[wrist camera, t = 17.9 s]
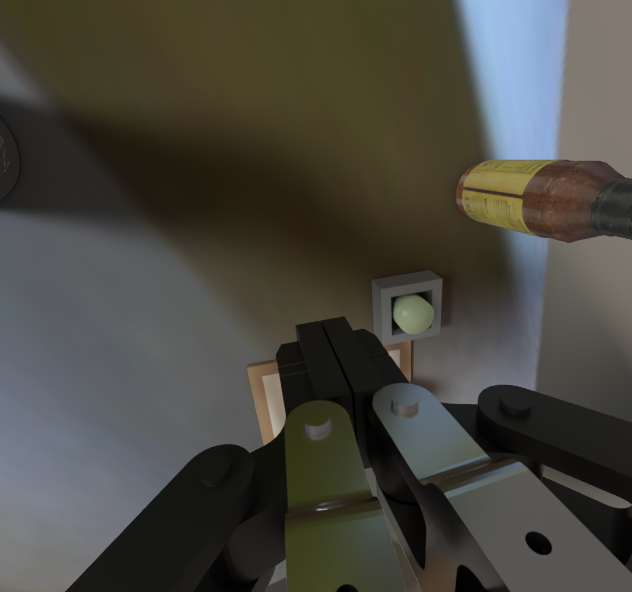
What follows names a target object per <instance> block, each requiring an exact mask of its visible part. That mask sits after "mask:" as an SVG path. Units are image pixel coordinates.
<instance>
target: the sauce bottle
mask: <svg viewBox="0 0 632 592" xmlns="http://www.w3.org/2000/svg"><path fill="white" fill-rule="evenodd" d="M455 197H456V202H457V205H458V208H459V210H460V211H461V213H463V214H464V215H466V216H468V217H470V218H472V219H474V220H476V221H479V222H483V223H487V224H491V225H495V226H498V227H502V228H506V229H510V230H514V231H518V232H522V233H526V234H530V235H534V236H538V237H544V238H553V239H556V240H560V241H565V242H568V243H570V242H574V241H577V240H581V239H587V238H591V237H596V236H601V235H606V236H618V237H623V238H627V239H631V240H632V179H630V178H625V177H624V176H622V175H621V174H619V173H618V172H617V171H615V170H614V169H613V168H612V167H611V166H609V165H608V164H607V163H605V162H601V161H569V160H488V161H485V162H482V163H478V164H476V165H474V166H471V167H469V168H468V169H467V170H466V171H465V173H464V174H463V175H462V177H461V179H460V181H459V183H458V185H457V188H456V193H455Z"/></svg>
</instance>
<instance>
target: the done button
mask: <svg viewBox="0 0 632 592" xmlns="http://www.w3.org/2000/svg"><path fill="white" fill-rule="evenodd" d="M391 317H392V318H393V320H394V321H395V322H396V323H397V324H398V325H399V326H400V328H401V329H402V330H403V331H404V332H406V333H408V334H419V333H422V332H424V331H425V330H426V329H428V328H429V326H430V325H431V324H432V322H433V319H434V310H433V307H432V306H431V305H430V304H429V303H428V302H427V301H425V300H424V299H423V298H422V297H421V296H420V295H418V294H417V293H411V294H406V295H400V296H394V297H391Z"/></svg>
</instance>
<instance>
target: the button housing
mask: <svg viewBox="0 0 632 592" xmlns="http://www.w3.org/2000/svg"><path fill="white" fill-rule="evenodd" d="M442 281H443V279H442V278H441V277H439V276H438V275H436V274H435V273H433V272H432V271H430V270H426V271H420V272H414V273H408V274H402V275H397V276H391V277H385V278H379V279H373V280H372V301H373V324H374V334H375V335H376V336H377V337H378V339H379V340H380V342H381V343H382V344H383V346H385V345H390V344H395V343H400V342H405V341H411V340H416V339H421V338H426V337H431V336H436V335H440V328H441V304H442ZM417 292H420V296H421V297H422V298H423V299H424V300H425V301H427V302H428V303H429V304H430V305H431V306H432V307H433V310H434V319H433V322H432V324H431V325H430V326H429V328H428V329H426V330H425V331H424V332H422V333H419V334H408V333H406V332H404V331H403V330H402V329H401V328H400V326H399V325H398V324H397V323H396V322H391V297H394V296H400V295H406V294H411V293H417Z"/></svg>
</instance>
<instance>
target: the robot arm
mask: <svg viewBox="0 0 632 592" xmlns="http://www.w3.org/2000/svg"><path fill="white" fill-rule="evenodd" d="M19 169H20V160H19V153H18V149H17V146H16V142H15V140H14V138H13V136H12V134H11V133H10V131H9V129H8V128H7V126H6V125H5V124H4V122H3V121H2V120H1V118H0V199H2V198H3V197H5V196H6V195H7V194H8V193H9V192H10V191H11V190H12V189H13V187H14V185H15V183H16V181H17V179H18V175H19ZM296 335H297V342H292V343H286V344H281V346H280V348H279V350H278V352H277V354H276V359H277V365H278V371H279V377H280V383H281V389H282V395H283V402H284V408H285V414H286V419H285V424H284V426H283V428H282V430H281V432H280V433H279V434H278V435H277V436H276V437H275V438H274V439H273V440H272V441H271V442H269V443H268V444H266V445H264V446H263V447H261V448H259V449H257V450H255V451H253V452H251V453H249V452H248V451H247V450H246V449H244V448H243V447H240V446H237V445H232V444H223V445H218V446H214V447H211V448H209V449H206V450H204V451H203V452H201V453H199V454H198V455H196V456H195V457H194V458H193V459H192V460H191V461H189V462H188V464H187V465H186V466H185V467H184V468H183V469H182V470H181V471H180V472H179V473H178V474H177V475H176V476H175V477H174V478H173V479H172V480H171V481H170V482H169V483H168V484H167V486H166V487H165V488H164V489H163V490H162V491H161V492H160V493H159V494H158V495H157V496H156V497H155V498H154V499H153V500H152V501H151V502H150V503H149V504H148V505H147V507H146V508H145V509H144V510H143V511H142V512H141V513H140V514H139V515H138V516H137V517H136V518H135V519H134V520H133V521H132V522H131V523H130V524H129V525H128V526H127V527H126V529H125V530H124V531H123V532H122V533H121V534H120V535H119V536H118V537H117V538H116V539H115V540H114V541H113V542H112V543H111V544H110V545H109V546H108V547H107V548H106V549H105V551H104V552H103V553H102V554H101V555H100V556H99V557H98V558H97V559H96V560H95V561H94V562H93V563H92V564H91V565H90V566H89V567H88V568H87V569H86V570H85V572H84V573H83V574H82V575H81V576H80V577H79V578H78V579H77V580H76V581H75V582H74V583H73V584H72V585H71V586H70V587H69V588H68V589H67V590H66V591H65V592H264V591H265V589H266V587H267V586H268V584H269V582H270V580H271V578H272V576H273V573H274V569H275V566H276V565H277V564H279V563H280V562H282V561H283V560H285V559H286V576H287V592H407V590H406V586H405V583H404V580H403V576H402V573H401V569H400V566H399V563H398V559H397V557H396V553H395V550H394V546H393V543H392V540H391V536H390V533H389V530H388V526H387V523H386V520H385V517H384V513H383V510H382V507H383V509H384V511H385V513H386V515H387V518H388V520H389V522H390V524H391V526H392V528H393V530H394V532H395V534H396V536H397V539H398V541H399V543H400V545H401V547H402V549H403V551H404V553H405V555H406V557H407V559H408V562H409V564H410V566H411V568H412V570H413V572H414V574H415V576H416V579H417V581H418V584H419V586H420V589H421V592H632V506H631V507H628V508H622V509H620V508H614V507H611V506H608V505H606V504H603V503H601V502H599V501H597V500H594V499H592V498H590V497H587V496H585V495H583V494H581V493H579V492H576V491H574V490H572V489H570V488H567V487H565V486H563V485H561V484H558V483H556V482H554V481H552V480H550V479H547V478H545V477H543V476H542V475H543V471H544V466H545V465H546V466H548V467H550V468H553V469H555V470H557V471H560V472H562V473H564V474H567V475H569V476H572V477H574V478H576V479H579V480H581V481H583V482H586V483H588V484H590V485H592V486H595V487H597V488H599V489H602V490H604V491H607V492H609V493H611V494H613V495H616V496H618V497H621V498H623V499H625V500H626V501H628V502H629V503H631V504H632V423H631V422H628V421H625V420H622V419H619V418H616V417H613V416H609V415H606V414H603V413H600V412H597V411H594V410H591V409H587V408H584V407H581V406H578V405H575V404H572V403H569V402H566V401H563V400H560V399H556V398H553V397H550V396H547V395H544V394H541V393H538V392H535V391H532V390H528V389H525V388H522V387H518V386H513V385H495V386H491V387H488V388H486V389H484V390H483V391H482V392H481V393H480V395H479V397H478V404H448V403H441V402H439V401H438V400H437V399H436V398H435V396H434V395H433V394H432V393H430V392H429V391H428V390H426V389H424V388H422V387H420V386H417V385H414V384H410V383H409V381H408V380H407V378H406V377H405V376H404V374H403V373H402V371H401V370H400V368H399V367H398V366H397V364H396V363H395V361H394V360H393V359H392V357H391V356H389V353H388V352H387V350H386V349H385V347H383V344H382V343H381V342H380V340H379V339H378V337H377V336H376V335H374V334H372V333H371V332H369V331H367V330H365V329H360V330H355V331H353V330H352V328H351V326H350V325H349V323H348V322H347V320H346V318H345V317H344V316H343V317H338V318H332V319H327V320H321V321H320V322H319V321H316V322H310V323H305V324H299V325H296ZM370 467H372V469H373V472H374V474H375V477H376V486H377V496H378V498H379V500H378V498H377V497H373V496H372V493H371V490H370V487H369V483H368V480H367V476H366V473H365V469H366V468H370ZM379 501H380V502H379ZM380 503H381V504H380ZM381 505H382V507H381Z"/></svg>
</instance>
